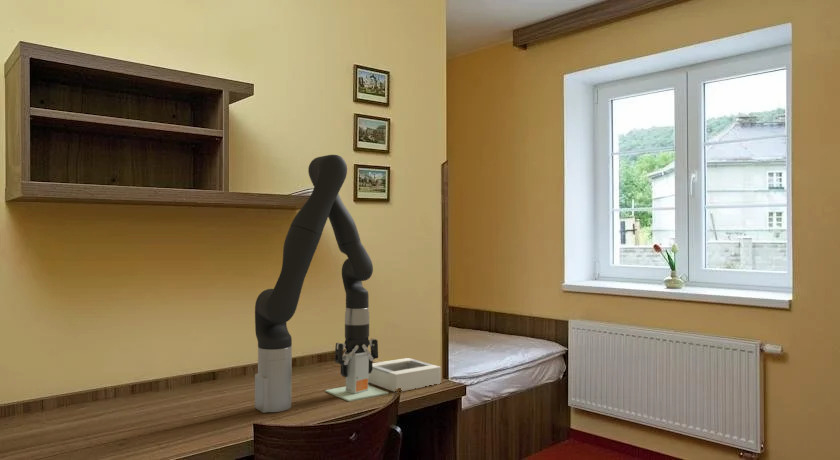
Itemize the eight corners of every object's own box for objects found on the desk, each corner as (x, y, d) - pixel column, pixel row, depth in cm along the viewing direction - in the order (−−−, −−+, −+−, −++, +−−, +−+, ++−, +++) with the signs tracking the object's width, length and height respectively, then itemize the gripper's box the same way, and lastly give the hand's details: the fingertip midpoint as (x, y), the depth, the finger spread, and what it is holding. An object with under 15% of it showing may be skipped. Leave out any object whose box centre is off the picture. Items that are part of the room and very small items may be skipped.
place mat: (348, 401, 174) (348, 399, 174) (325, 391, 185) (325, 389, 185) (388, 393, 183) (388, 392, 183) (363, 384, 194) (363, 383, 194)
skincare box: (354, 394, 180) (355, 354, 180) (345, 391, 183) (345, 352, 183) (369, 390, 185) (369, 351, 185) (359, 388, 188) (359, 349, 188)
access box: (396, 392, 185) (396, 374, 185) (364, 380, 199) (364, 364, 199) (440, 383, 196) (440, 366, 196) (408, 373, 210) (408, 357, 210)
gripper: (343, 325, 177) (342, 380, 177) (383, 321, 186) (382, 373, 185) (330, 322, 183) (330, 375, 183) (369, 318, 192) (369, 369, 191)
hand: (356, 374), depth 184 cm, fingers open, 8 cm apart
